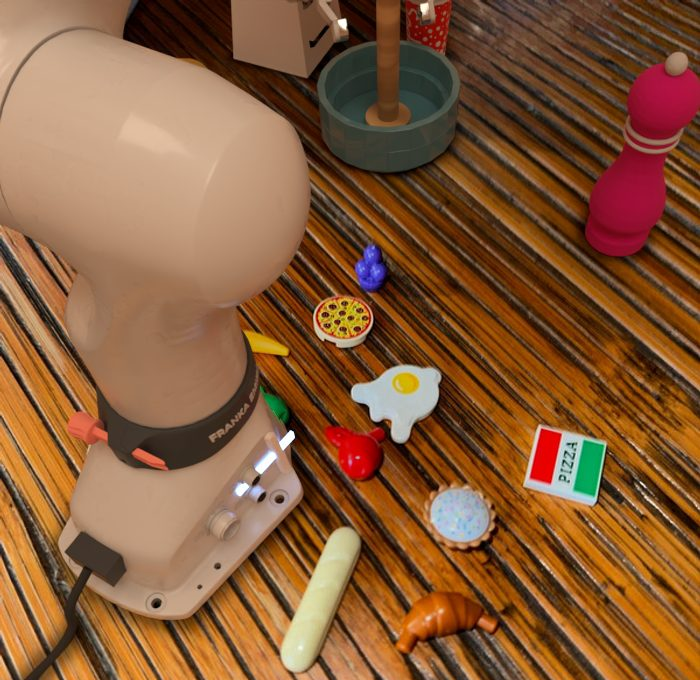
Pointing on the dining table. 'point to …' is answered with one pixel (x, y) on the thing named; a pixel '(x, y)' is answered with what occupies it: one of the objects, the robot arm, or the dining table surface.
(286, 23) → the grater
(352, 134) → the bowl
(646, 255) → the dining table surface
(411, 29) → the beverage cup
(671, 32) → the dining table surface
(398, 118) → the stick
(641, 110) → the pepper mill
